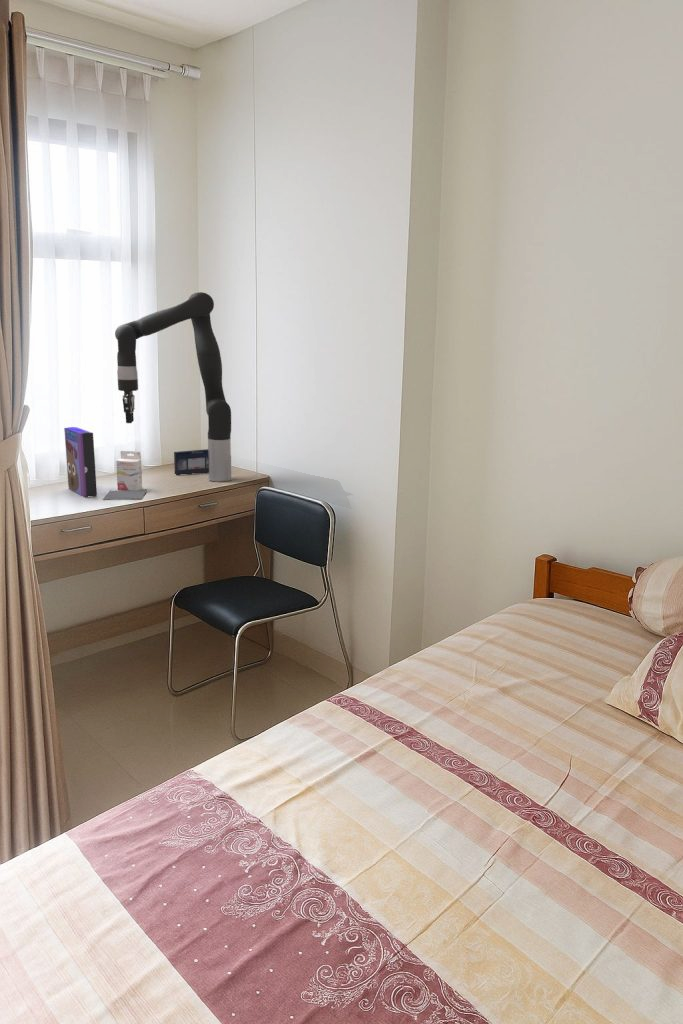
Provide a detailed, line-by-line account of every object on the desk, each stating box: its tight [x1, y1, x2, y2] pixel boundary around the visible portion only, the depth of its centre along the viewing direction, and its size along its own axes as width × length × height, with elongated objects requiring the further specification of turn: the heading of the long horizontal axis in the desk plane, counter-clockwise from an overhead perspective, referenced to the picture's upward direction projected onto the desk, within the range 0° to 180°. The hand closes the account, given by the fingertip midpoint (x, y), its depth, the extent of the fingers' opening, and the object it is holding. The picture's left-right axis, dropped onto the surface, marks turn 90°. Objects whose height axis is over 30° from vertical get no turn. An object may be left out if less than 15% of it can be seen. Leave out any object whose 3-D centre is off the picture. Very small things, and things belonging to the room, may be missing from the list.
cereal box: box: [63, 426, 98, 498], centre depth 294 cm, size 17×5×24 cm, turn 37°
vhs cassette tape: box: [173, 448, 209, 476], centre depth 335 cm, size 18×3×10 cm, turn 119°
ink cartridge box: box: [115, 450, 143, 490], centre depth 302 cm, size 9×5×15 cm, turn 84°
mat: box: [102, 489, 148, 500], centre depth 293 cm, size 14×14×1 cm
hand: (129, 422), depth 305 cm, fingers open, 3 cm apart
